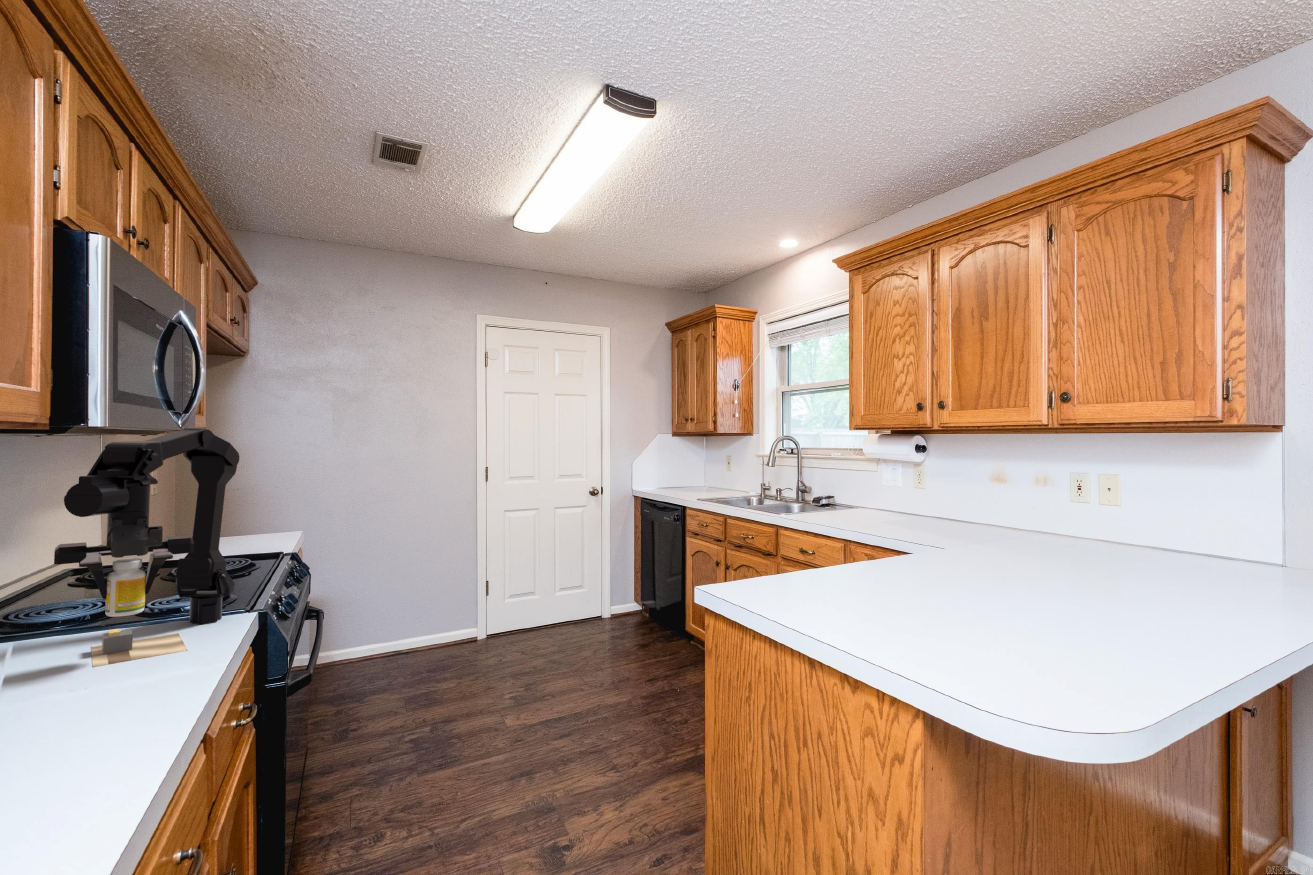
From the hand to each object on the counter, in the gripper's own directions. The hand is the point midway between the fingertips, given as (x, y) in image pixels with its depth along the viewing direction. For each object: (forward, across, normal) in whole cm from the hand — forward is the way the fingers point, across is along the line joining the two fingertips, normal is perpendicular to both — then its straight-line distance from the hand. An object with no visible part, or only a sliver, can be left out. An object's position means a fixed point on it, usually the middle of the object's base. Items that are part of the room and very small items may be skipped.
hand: (125, 596), depth 108 cm
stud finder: (+11, -1, +6) cm, 12 cm away
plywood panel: (+12, +2, +4) cm, 13 cm away
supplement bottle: (+3, 0, 0) cm, 3 cm away
